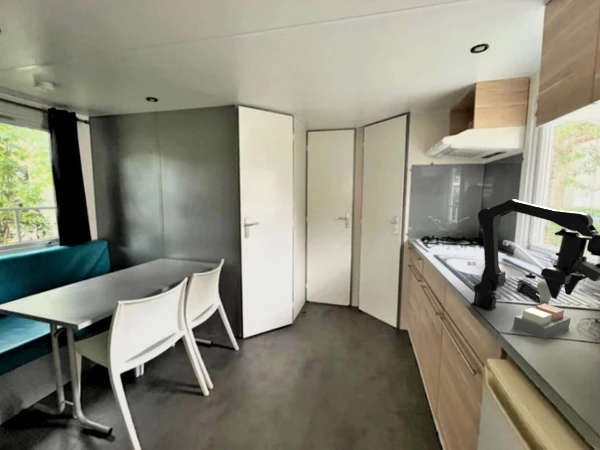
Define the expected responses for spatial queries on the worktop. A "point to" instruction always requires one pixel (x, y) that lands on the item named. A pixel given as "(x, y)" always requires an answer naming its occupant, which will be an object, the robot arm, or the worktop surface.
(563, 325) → the keypad
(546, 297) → the lightbulb
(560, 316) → the terracotta key
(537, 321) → the cream key
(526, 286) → the can opener
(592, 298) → the worktop surface
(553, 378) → the worktop surface
